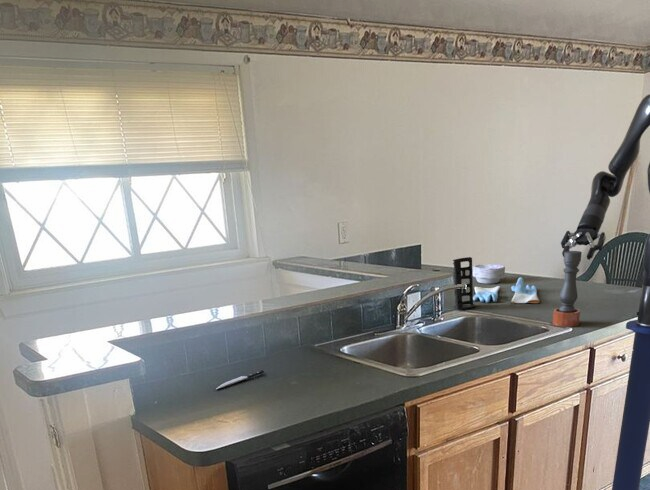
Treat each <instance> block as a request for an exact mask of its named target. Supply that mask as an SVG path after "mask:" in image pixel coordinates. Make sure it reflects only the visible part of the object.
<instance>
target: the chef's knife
mask: <svg viewBox="0 0 650 490" xmlns="http://www.w3.org/2000/svg"><path fill="white" fill-rule="evenodd" d="M263 373H265V371H264V370H263V369H260V370H259V371H257V372H254V373H251V374H247V375H241V376H238V377H236V378H233V379H231V380H228V381H226V382H223V383H222V384H220V385H219V386H217V387H216V388H215V390H219V389H222V388H225V387H228V386H231V385H233V384H236V383H239V382H241V381H244V380H247V379H251V378H253V377H257V376H258V375H261V374H263Z"/></svg>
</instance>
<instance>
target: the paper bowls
mask: <svg viewBox="0 0 650 490" xmlns="http://www.w3.org/2000/svg"><path fill="white" fill-rule="evenodd" d="M505 271H506V266H505V265H503V264H495V263H479V264H474V265H472V277H474V278H475V280H476V282H477V283H479V284H481V285H482V284H483V285H484V284H485V285H492V284H493V285H494V284H497V283H499V282H500V280H501V279H502V278H504V277H505V275H506V273H505Z"/></svg>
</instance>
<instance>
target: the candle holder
mask: <svg viewBox="0 0 650 490" xmlns="http://www.w3.org/2000/svg"><path fill="white" fill-rule="evenodd" d="M582 255H583V254H582V251H580V250H569V251H566V252H565V253H564V257H563V262H564V263H563V264H564V266H565V268H564V269H563V272H564V281H563V284H562V287H561V291H560V293H559V301H560V302H561V306H560V307H558V308H559V311H560V312H563V313H573V312H574V311H575V310H576V309H577V308H575V306H574V305H575V302H576V301H577V300H578V288H577V274H578V273H579V272H580V269H579V268H578V267H579V265H580V264H581V262H582Z"/></svg>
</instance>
